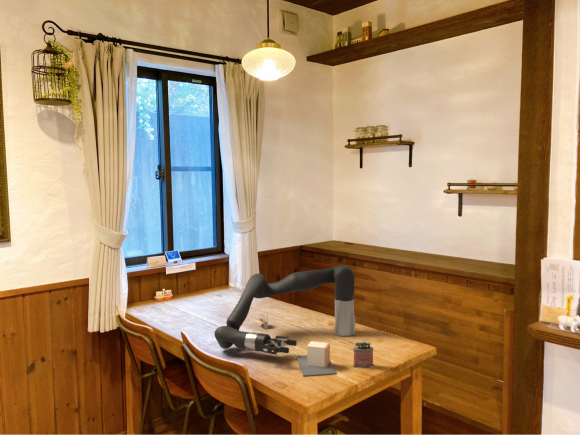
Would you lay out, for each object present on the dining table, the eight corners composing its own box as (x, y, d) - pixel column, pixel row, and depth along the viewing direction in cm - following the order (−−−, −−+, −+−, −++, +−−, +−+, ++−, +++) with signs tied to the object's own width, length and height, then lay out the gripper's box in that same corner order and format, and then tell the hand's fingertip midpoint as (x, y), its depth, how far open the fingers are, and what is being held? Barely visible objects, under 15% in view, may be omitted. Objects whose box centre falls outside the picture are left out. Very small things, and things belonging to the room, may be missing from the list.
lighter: (372, 363, 181) (372, 340, 180) (374, 367, 178) (374, 343, 177) (352, 364, 181) (352, 340, 180) (354, 368, 177) (354, 343, 177)
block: (307, 346, 179) (326, 348, 176) (311, 341, 184) (329, 343, 182) (307, 365, 180) (326, 367, 177) (311, 359, 185) (329, 362, 182)
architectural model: (262, 330, 225) (261, 316, 224) (255, 326, 231) (255, 312, 230) (267, 329, 227) (267, 315, 226) (261, 325, 232) (261, 311, 232)
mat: (326, 354, 191) (326, 353, 191) (336, 374, 172) (336, 372, 172) (296, 357, 189) (296, 355, 189) (303, 376, 171) (303, 375, 170)
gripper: (265, 344, 197) (299, 349, 190) (250, 356, 184) (286, 362, 177) (264, 328, 196) (298, 332, 190) (249, 339, 183) (285, 344, 177)
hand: (292, 346), depth 184 cm, fingers open, 8 cm apart
